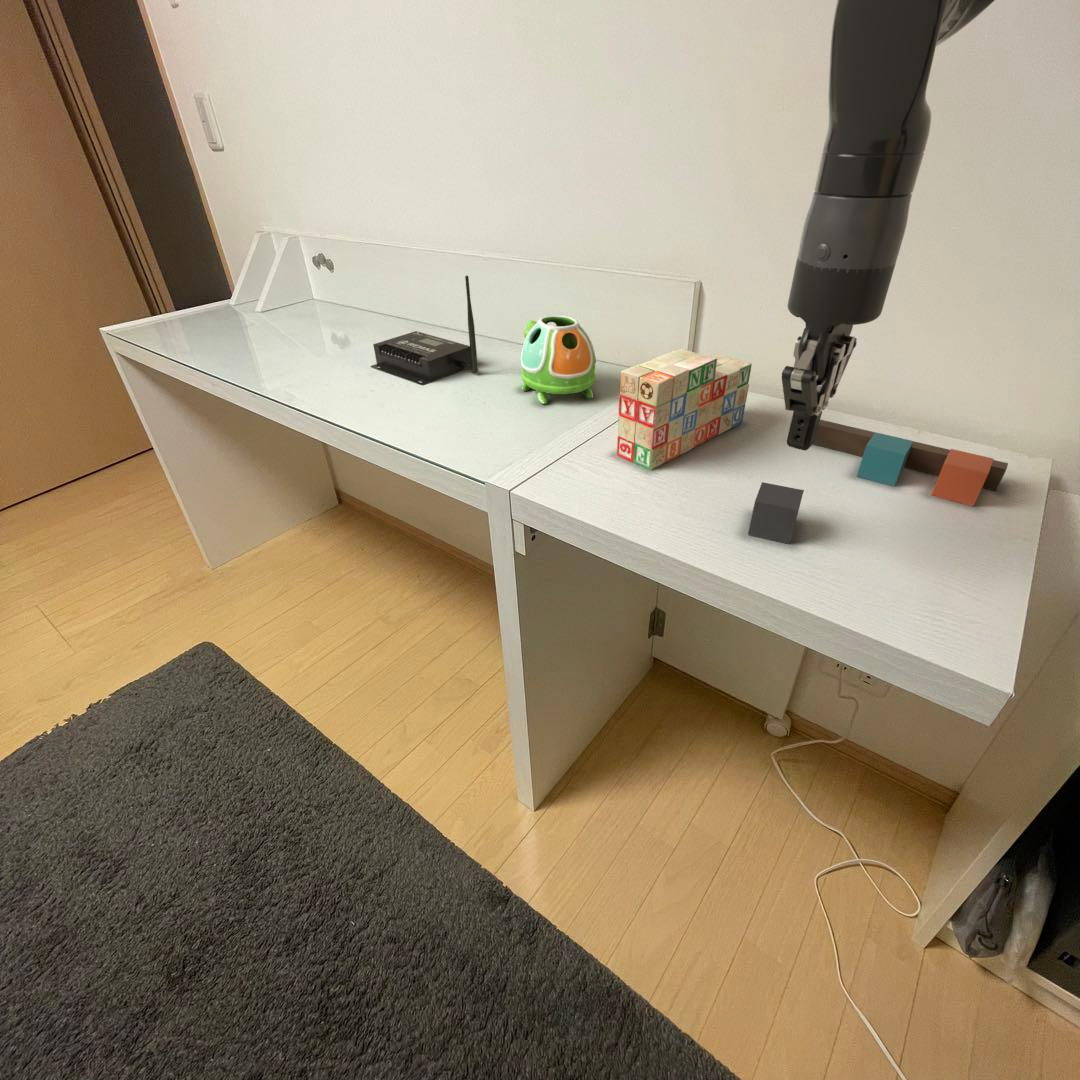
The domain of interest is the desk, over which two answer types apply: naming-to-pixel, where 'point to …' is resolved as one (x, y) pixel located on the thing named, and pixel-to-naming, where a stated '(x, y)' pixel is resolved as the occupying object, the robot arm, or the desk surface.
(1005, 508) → the desk surface
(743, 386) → the stack of blocks
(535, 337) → the turtle holder
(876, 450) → the block teal
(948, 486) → the block terracotta
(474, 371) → the wireless controller
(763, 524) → the block charcoal
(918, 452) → the rail
